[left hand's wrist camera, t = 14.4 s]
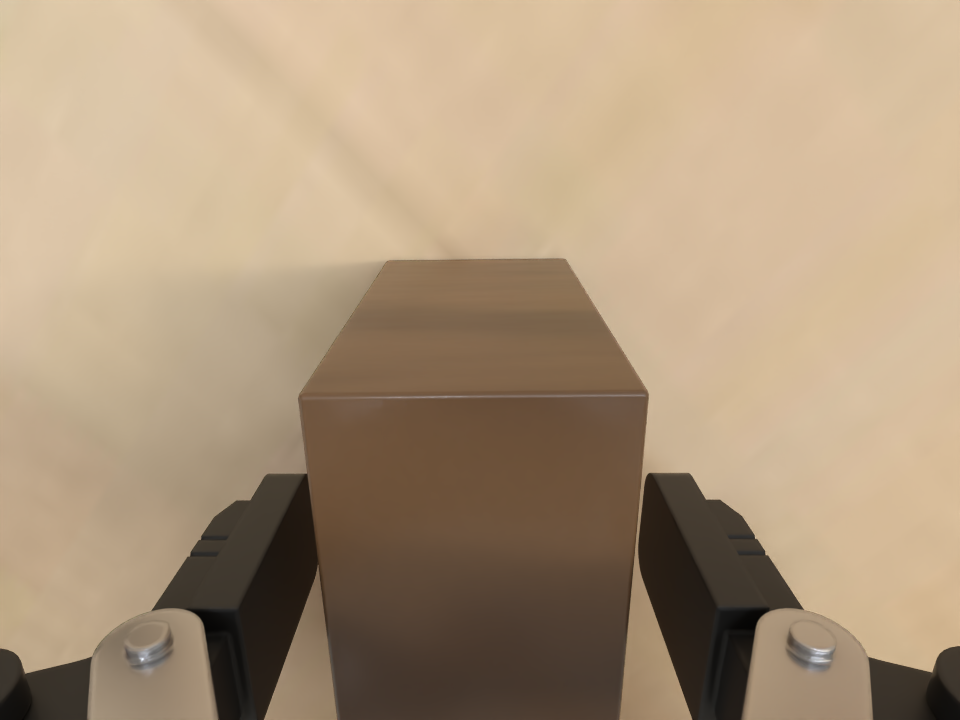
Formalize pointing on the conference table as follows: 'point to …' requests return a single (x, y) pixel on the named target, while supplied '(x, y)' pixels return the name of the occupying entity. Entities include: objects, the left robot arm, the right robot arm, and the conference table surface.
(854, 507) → the conference table surface
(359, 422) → the bar
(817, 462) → the conference table surface
